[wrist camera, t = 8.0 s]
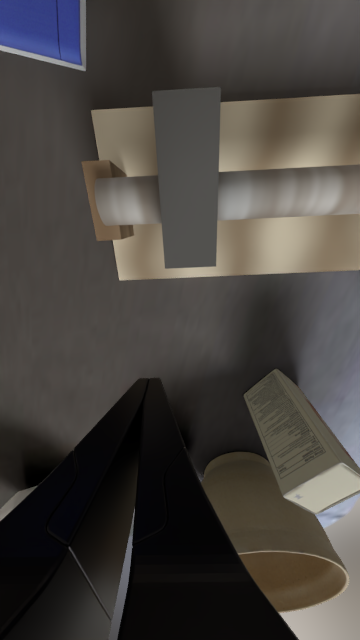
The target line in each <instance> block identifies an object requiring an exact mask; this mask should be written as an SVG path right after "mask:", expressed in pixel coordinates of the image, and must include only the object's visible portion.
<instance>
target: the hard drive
mask: <svg viewBox="0 0 360 640" xmlns="http://www.w3.org/2000/svg"><path fill="white" fill-rule="evenodd" d="M0 50H2V51H6V52H10V53H14V54H18V55H22V56H26V57H30V58H34V59H38V60H42V61H46V62H50V63H54V64H58V65H62V66H66V67H70V68H74V69H78V70H82V71H86V0H0Z"/></svg>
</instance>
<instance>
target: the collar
mask: <svg viewBox="0 0 360 640" xmlns="http://www.w3.org/2000/svg"><path fill="white" fill-rule="evenodd" d="M152 99H153V113H154V127H155V140H156V154H157V167H158V181H159V195H160V208H161V222H162V235H163V249H164V263H165V269H171V268H194V267H216V253H217V217H218V180H219V144H220V108H221V87H209V88H193V89H177V90H161V91H152Z"/></svg>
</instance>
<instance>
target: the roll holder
mask: <svg viewBox="0 0 360 640" xmlns="http://www.w3.org/2000/svg"><path fill="white" fill-rule="evenodd" d="M91 113H92V119H93V125H94V131H95V137H96V143H97V149H98V155H99V160H98V161H81V162H82V167H83V172H84V177H85V182H86V187H87V192H88V197H89V202H90V207H91V212H92V217H93V223H94V228H95V233H96V238H97V241H103V240H113V245H114V251H115V257H116V263H117V269H118V275H119V280H138V279H162V278H185V277H209V276H232V275H255V274H279V273H302V272H326V271H349V270H360V94H350V95H333V96H317V97H300V98H284V99H267V100H251V101H234V102H221V108H220V144H219V180H218V217H217V253H216V267H194V268H171V269H165V263H164V249H163V235H162V222H161V208H160V195H159V181H158V167H157V154H156V140H155V127H154V113H153V106H152V107H135V108H119V109H103V110H91Z"/></svg>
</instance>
